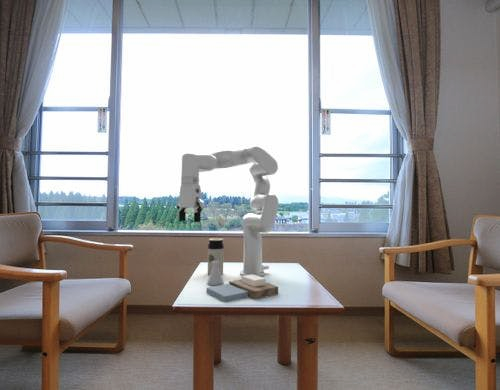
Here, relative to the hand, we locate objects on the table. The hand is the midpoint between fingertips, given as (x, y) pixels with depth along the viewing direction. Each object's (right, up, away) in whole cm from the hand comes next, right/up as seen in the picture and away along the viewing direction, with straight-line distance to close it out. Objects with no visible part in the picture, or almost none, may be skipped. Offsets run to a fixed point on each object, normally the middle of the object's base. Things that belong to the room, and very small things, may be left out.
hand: (189, 221), depth 134 cm
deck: (+27, -29, -4) cm, 40 cm away
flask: (+10, -29, +7) cm, 32 cm away
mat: (+17, -29, -10) cm, 35 cm away
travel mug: (+8, -30, +26) cm, 40 cm away
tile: (+28, -26, -3) cm, 38 cm away
